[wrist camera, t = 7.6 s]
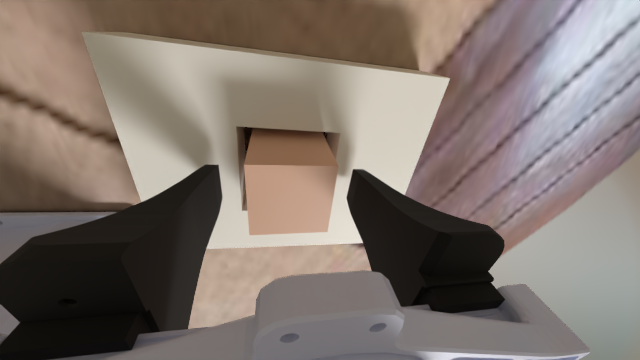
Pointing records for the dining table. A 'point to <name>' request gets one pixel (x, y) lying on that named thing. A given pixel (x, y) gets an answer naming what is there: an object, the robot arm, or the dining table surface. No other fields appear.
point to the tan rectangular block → (289, 181)
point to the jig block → (258, 119)
